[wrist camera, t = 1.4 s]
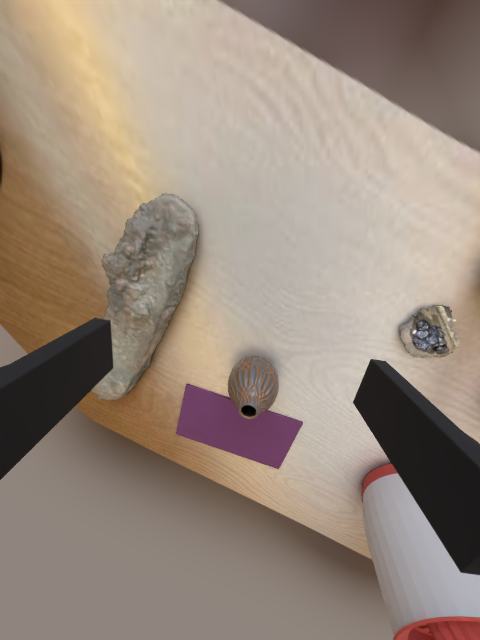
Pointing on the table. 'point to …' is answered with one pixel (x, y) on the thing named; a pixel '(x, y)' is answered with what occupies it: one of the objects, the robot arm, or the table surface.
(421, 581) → the citrus juicer
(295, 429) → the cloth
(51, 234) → the table surface
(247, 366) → the vase
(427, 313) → the grey crystal geode
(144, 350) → the long grey stone
